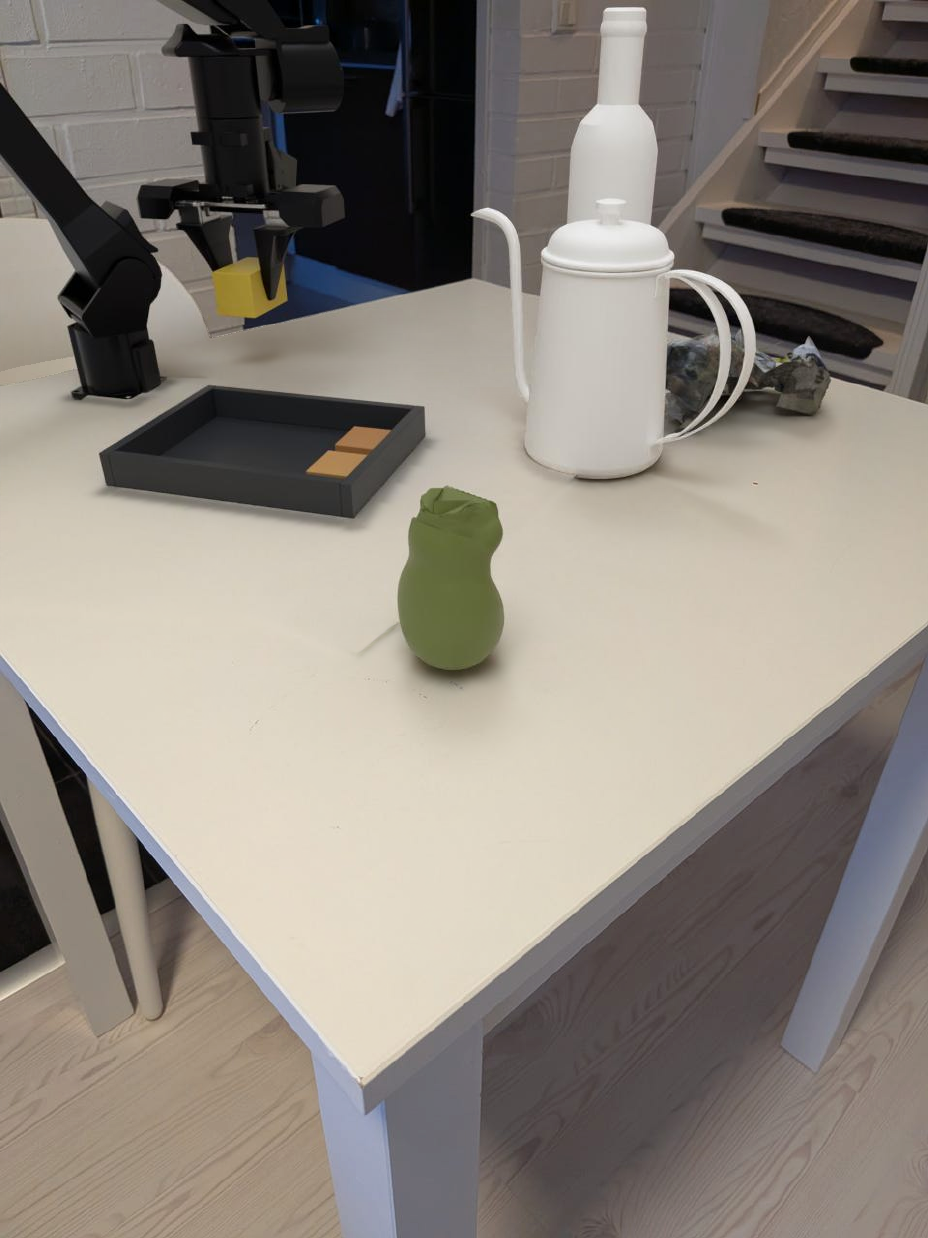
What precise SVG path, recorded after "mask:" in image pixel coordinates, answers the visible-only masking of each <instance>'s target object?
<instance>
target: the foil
mask: <svg viewBox="0 0 928 1238" xmlns="http://www.w3.org/2000/svg"><path fill="white" fill-rule="evenodd" d="M729 328H731V327H730V326H729ZM783 342H784V340H783V341H780V342H777V343H774V344H771V345H769V346H765V347H763V348H760V349H758V348H757V347H756V352H755V358H754V364H753V368H752V371H751V374H750V376H749V379H748V382H747V384H746V386H745V387H744V389H743V390H753V391H761V390H763V389H765V388H771V389H773V388H774V391H776V392H778V393H781V394H780V396H779V398H778V401H777V404H776V406H775V407H777V408H782V409H787V410H791V411H795V412H798V413H801V414H804V415H809V416H811V415H813V414H815V413H816V412H817V411H818V410H820V408H821V407H822V402H823V400H824V397H825V396H826V393H827V389H829V386H830V384H831V382H832V378H831V376H830V373H829V371H828V366H827V364H826V362H825V361H824V358H823V357H822V355H821V354H820V352H819V350H818V348H817V347H816V345H815V343H814V342H813V339H812V338H811V337H810V335H808V337H807V338H806V340H805V343H804V344H803V343H802V344H801V345H798V346H797V347H795V348H793V351H792V352H791V351H786V353H785V355H784V358H781V357H775V356H773V357H772V356H769V355H768V354H767V353H765V351H767V350H770V349H771V348H773V347H775V346H777V345H779V344H781V343H783ZM744 356H745V345H744V339H743V333H742V327H741V328H740V329H738V331H737V332H736V334H735V335H734V336H733V337H732V336H731V361H730V368H729V373H728V378H727V381H726V384H725V387H724V390H723V392H722V394H721V396H729V397H731V395H732V393H733V391H734V389H735V387H736V386H737V383H738V380H739V377H740V375H741V372H742V368H743V362H744ZM779 363H780V364H779ZM777 364H779V365H777ZM719 366H720V339H719V333H718V328H717V326H714V327H713V328H711V329H710V330H709V332H707V333H704V334H698V335H695V336H694V337H692V338H689V339H688V338H687V339H686V338H685V339H675V340H673V339H672V340H671V341H668V342H667V361H666V386H665V391H668V392H665V400H666V402H667V407H665V411H664V412H665V413H666V415H668V416H670V417H672V418H673V419H675V420H677V421H679V423H680V424H681V425H680V426H679V427H678V428H676V429H675V430H674V431H673V432H674V433H676V432H681V431H683V430H684V429H685V428H686V427H687V426H689V425H690V424H691V423H692V422H693V421H694V420H695V419H696V418H697V417H698V416H699V415H700V413H701V412H702V411H703V410H704V408H705V407H706V405H707V404H708V402H709V400H710V398H709V399H708V400H707V398H708V396H710V397H711V396H712V394H713V391H714V388H715V385H716V382H717V378H718V372H719ZM742 394H743V392H742V393H741V395H740V396H739V398H738V399H737V400H736V401H741V400H742V399H741V398H742ZM721 396H720V397H721ZM706 400H707V401H706ZM705 401H706V402H705ZM704 403H705V404H704ZM666 415H665V414H664V419H666V421H667V423H668V425H669V426H671V424H670V423H669V421H668V418H667V417H666ZM689 431H692V429H690V430H689Z"/></svg>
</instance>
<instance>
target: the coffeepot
mask: <svg viewBox="0 0 928 1238" xmlns="http://www.w3.org/2000/svg"><path fill="white" fill-rule="evenodd" d="M626 203H627V202H626V201H624V200H621V199H614V198H607V199H601V200H597V201H596V208H595V209H596V210H598V211H600V214H601V219H597V220H584V221H578V222H573V223H569V224H567V223H566V224H564V225H562V226H560V227H559V228H557V229H556V230H555V231H554V232H553V233H552V235H551V236H550V238H549V241H548V243H547V246H545V247H544V248H543V249H542V250H541V251H540V256H541V258H540V263H541V265H542V274H541V276H542V277H541V283H540V291H539V299H538V300H539V302H538V311H537V318H536V319H537V320H536V328H535V339H534V347H533V355H532V365H531V374H530V383H529V384H528V381H527V377H526V371H525V353H524V352H525V351H524V350H525V349H524V324H523V323H524V320H523V319H524V317H523V285H522V282H523V281H522V280H523V279H522V259H521V257H522V255H521V243H520V239H519V235H518V232H517V229H516V227H515V225H514V224H513V222H512V221H511V220H510V219H509V218H508V217H507V216H506V214H503V213H502V212H501V211H499V210H496V209H494V208H491V207H485V208H481V209H478V210H474V211H473V212H471V214H470V216H471V217H474V218H478V219H483V220H485V221H489V222H491V223H493V224H495V225H497V226H498V227H499V228H500V229H501V230H502V232H503V233H504V235H505V237H506V242H507V246H508V258H509V259H508V260H509V275H510V276H509V277H510V279H509V281H510V282H509V283H510V307H511V334H512V335H511V338H512V359H513V360H512V361H513V375H514V381H515V385H516V388H517V391H518V393H519V395H520V397H521V399H522V400H523V402H524V403H525V404H526V405H527V409H526V417H525V418H526V419H525V427H524V428H525V429H524V437H523V444H524V448H525V451H526V453H527V454H528V456H529V457H530V458H531V459H532V460H533V461H535V462H536V463H538V464H539V465H541V466H543V467H545V468H547V469H550V470H554V471H556V472H560V473H564V474H570V475H574V478H578V479H579V478H580V479H590V480H609V479H619V478H624V477H629V476H633V475H636V474H639V473H641V472H643V471H645V470H647V469H649V468H650V467H652V466H653V465H654V464H655V463H656V462H657V461H658V460H659V458H660V457H661V455H662V452H663V448H664V444H666V443H671V442H676V441H678V440H682V439H685V438H687V437H690V436H693V435H694V434H696V433H698V432H700V431H702V430H703V429H706V428H707V427H709V426H710V425H712V424H713V423H715V422H717V421H718V420H719V419H720V418H721V417H723V416H724V415H725V414H726V413H727V412H728V411H729V410H730V409H731V408H732V407H733V406H734V404H735V403H736V402H737V401H738V400H737V399H738V398H739V396H740V395H741V393H742V394H743V391H744V390H745V389H744V387H745V386H746V384H747V382H748V379H749V376H750V374H751V371H752V368H753V364H754V358H755V352H756V348H757V345H756V344H757V343H756V341H757V340H756V330H755V326H754V321H753V318H752V315H751V313H750V311H749V308H748V306H747V305H746V303H745V302H744V300H743V299H742V297H741V296H740V295H739V293H738V292H736V290H735V289H733V287H731V286H730V285H729V284H728V283H727V282H724V281H723V280H722V279H719V278H717V277H715V276H713V275H710V274H708V273H704V272H701V271H697V270H692V269H672V268H673V266H674V264H675V262H674V260H675V253H674V251H672V250H671V249H670V248H669V242H668V239H667V237H666V235H665V234H664V232H662V230H660V229H659V228H657V227H655V226H653V225H651V224H650V225H648V224H645V223H641V222H635V221H628V220H619V217H620V213H621V212H622V211H624V210H626ZM671 269H672V270H671ZM670 279H678V280H681V281H683V282H684V283H686V284H688V286H690V287H691V288H693V289H694V290H695V291H696V293H698V294H699V296H700V297H701V298H702V299H703V300H704V301H705V303H706V305H707V306H708V308H709V309H710V312H711V313H712V316H713V318H714V321H715V325H716V328H717V329H718V333H719V339H720V366H719V372H718V378H717V382H716V385H715V388H714V391H713V394H712V396H710V397H709V399H710V400H709V399H708V400H709V402H708V403H707V404H706V406H705V407H704V408H703V409H702V411H701V412H700V414H699V416H698V417H697V418H696V419H695V420H694V421H693V422H692V423H691V424H690V425H689V426H687V427H686V428H685V429H684V430H681V431H678V432H674V433H670V434H668V435H666V436H664V432H665V416H664V415H665V412H666V411H665V409H666V407H665V406H666V397H665V396H666V389H665V386H666V361H667V344H668V332H669V331H668V330H669V311H670V310H669V308H670V307H669V306H670V284H671V283H670V282H671V281H670ZM709 286H710V287H712V288H713V289H714V290H716V291H717V292H719V293H720V294H721V295H722V296H723V297H724V298H725V299H726V300H727V301H728V303H729V304H730V305H731V307H732V308H733V309H734V312H735V313H736V315H737V319H738V320H739V323H740V325H741V326H740V327H741V331H742V336H743V346H744V348H745V356H744V362H743V368H742V372H741V375H740V377H739V380H738V383H737V386H736V387H735V389H734V391H733V393H732V395H731V396H729V398H728V400H727V401H726V403H725V404H724V405H723V406H722V408H721V409H720V410H719V411H718V412H717V413H716V414H715V415H714V416H713V417H712V418H711V419H709V420H708V421H707V422H706V423H704V424H703V425H701V426H699V427H698V428H696V429H693V428H695V427H696V426H697V425H698V424H700V422H702V421H703V420H704V419H705V418H706V417H707V416H708V415H709V413H710V412H711V411H712V410H713V409H714V407H715V406H716V405H717V404H718V401H719V400H720V398H721V394H722V392H723V390H724V387H725V384H726V381H727V378H728V373H729V368H730V361H731V337H732V336H731V329H730V328H731V327H730V323H729V320H728V317H727V314H726V312H725V309H724V307H723V305H722V303H721V302H720V300H719V298H718V297H717V295H716V294H715V293H714V291H713V290H712V289H711V288H710V287H709ZM729 327H730V328H729ZM690 429H691V430H690ZM692 429H693V430H692Z"/></svg>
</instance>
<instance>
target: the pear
mask: <svg viewBox="0 0 928 1238" xmlns="http://www.w3.org/2000/svg"><path fill="white" fill-rule="evenodd" d="M419 505H420V506H419V507H420V508H419V511H418V514H417V516H416V517H415V516H413V517H411V520H410V524H409V528H408V533H407V542H408V544H407V545H408V556H407V560H406V561H405V565H404V567H403V569H402V571H401V574H400V577H399V581H398V585H397V596H396V597H397V600H396V601H397V614H398V619H399V625H400V628H401V632H402V634H403V637H404V640H405V642H406V644H407V646H408V647H409V649H410V650H411V651H412V652H413V654H415V656H416V657H417V658H419V659H420V660H421V661H422V662H424V663H425V664H426V665H428V666H431V667H433V668H436V669H440V670H444V671H461V670H465V669H469V668H472V667H475V666H476V665H479V664H480V663H481V662H483V661H484V660H486V659H487V658H488V657H489V656H490V655H491V654H492V652H494V650H495V649H496V647H497V646H498V644H499V641H500V639H501V637H502V634H503V631H504V625H505V610H504V604H503V599H502V597H501V594H500V592H499V590H498V588H497V586H496V584H495V582H494V580H493V577H492V569H491V567H492V565H491V564H492V558H493V556H494V554H495V553H496V551H497V550H498V548H499V546H500V544H501V542H502V540H503V537H504V529H503V525H502V522H501V520H500V518H499V508H498V505H497V503H496V502H494V501H493V500H489V499H487V498H483V497H481V496H477V495H475V494H471V493H470V492H465V491H464V490H460V489H459V488H454V487H453V486H449V485H445V486H443V487H430V488H429V489H428V490H427V491H426V492H425V493H423V494H421V496H420V500H419Z"/></svg>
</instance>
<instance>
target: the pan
mask: <svg viewBox="0 0 928 1238" xmlns="http://www.w3.org/2000/svg"><path fill="white" fill-rule="evenodd" d="M354 426H356V427H365V428H375V429H384V430H391V431H390V432H389V433H388V434H387V435H386V437H385V438H384V439H383V440H382V441H381V442H380V443H379V444H378V445H377V446H376V447H375V448H374V449H373V450H372V451H371V452H370V453H369V454H368V455H367V456H366V457H365V458H364V459H363V460H362V461H361V462H360V463H359V464H358V465H357V466H356V467H355V468H354V469H353V470H352V471H351V473H350V474H349V475H348V476H347V477H346V478H345V479H342V478H333V477H325V476H317V475H309V474H306V471H307V470H308V469H309V468H310V467H311V466H312V465H313V464H314V463H315V462H317V461H318V460H319V459H320V458H321V457H322V456H323V455H324V454H325V453H326V452H327V451H335V444H336V443H337V442H338V441H339V440H340V439H341V438H343V437H344V436H345V435H346V434H347V433H348V432H349V431H350V430H351V429H352V428H353V427H354ZM425 438H426V409H425V406H424V405H413V404H405V403H404V404H403V403H395V402H394V403H393V402H385V401H384V402H383V401H373V400H364V399H354V398H344V397H333V396H325V395H324V396H323V395H315V394H303V393H295V392H284V391H275V390H274V391H273V390H265V389H254V388H245V387H244V388H243V387H235V386H224V385H215V384H206V386H204V387H202V388H201V389H199V390H198V391H195V392H194V393H193V394H191V395H189V396H187V397H186V398H185V399H183V400H182V401H180V402H178V403H177V404H175V405H174V406H172V407H170V408H169V409H167V410H166V411H164V412H163V413H161V414H159V415H158V416H156V417H155V418H153V419H151V420H149V421H148V422H146V423H145V424H143V425H141V426H139V427H138V428H137V429H135V430H134V431H131V432H130V433H128V434H127V435H125V436H124V437H122V438H121V439H119V440H118V441H116V442H114V443H113V444H111V445H109V446H107V448H105V449H103V450H102V451H99V452H98V456H99V460H100V464H101V469H102V473H103V478H104V482H105V485H106V486H108V487H114V488H122V489H129V490H137V491H145V492H151V493H152V492H153V493H157V494H158V493H160V494H167V495H172V496H173V495H175V496H182V497H190V498H197V499H202V500H203V499H204V500H210V501H211V500H212V501H217V502H218V501H219V502H225V503H227V502H228V503H233V504H234V503H235V504H241V505H249V506H255V507H264V508H269V509H278V510H284V511H285V510H287V511H293V512H302V513H308V514H315V515H323V516H331V517H338V518H339V517H340V518H347V519H355V517H356V516H357V515H358V514H359V513H360V512H361V510H362V509H364V507H365V506H366V505H367V504H368V503H369V501H370V500H371V499H372V498H373V497H374V496H375V495H376V493H378V491H379V490H380V489H382V487H383V485H384V484H385V483H386V482H387V481H388V480H389V479H390V478H391V477H392V476H393V474H394V473H395V472H396V471H397V469H399V467H400V466H401V465H402V464H403V463H404V461H406V459H408V457H409V456H410V454H411V453H412V452H413V451H414V450H415V449H416V448H417V447H418V446H419V445H420V444H421V442H422V441H423V440H424V439H425Z"/></svg>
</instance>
